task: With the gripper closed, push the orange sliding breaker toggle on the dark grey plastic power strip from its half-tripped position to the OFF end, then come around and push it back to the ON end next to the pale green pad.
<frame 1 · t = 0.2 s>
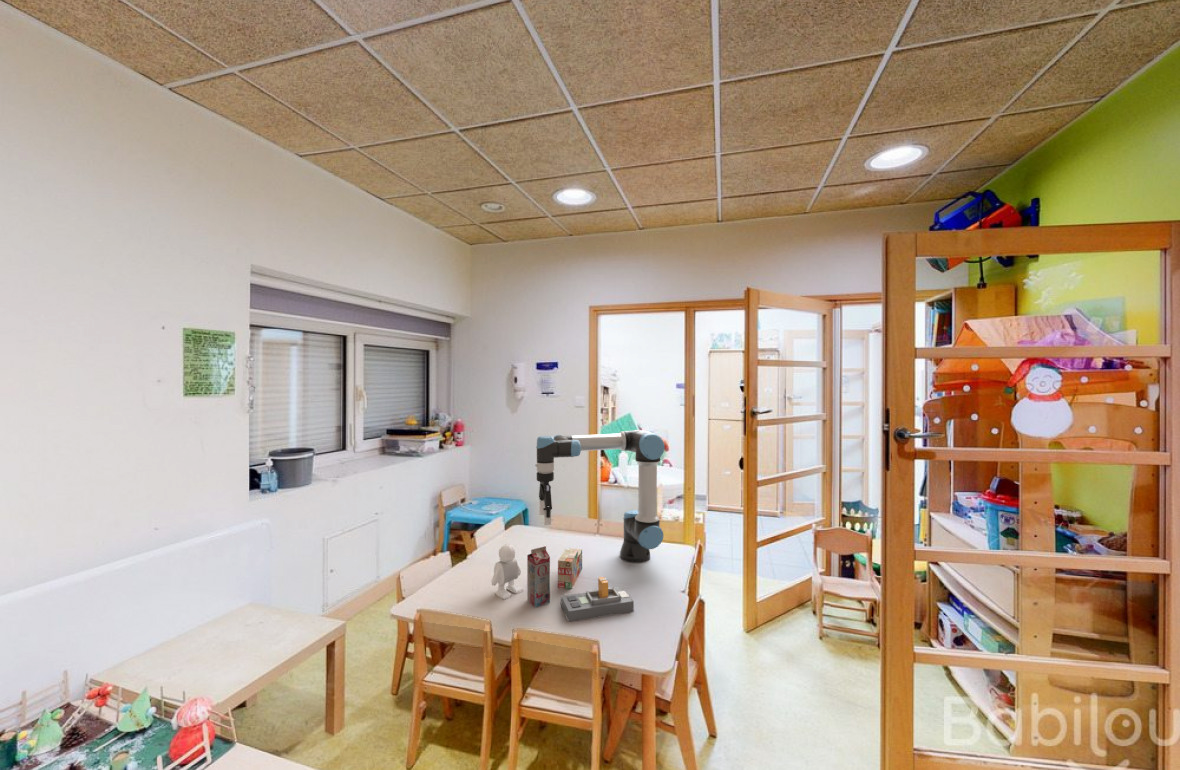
hand: (545, 519, 200), 28 cm above the table, fingers open, 13 cm apart
juice carton: (538, 602, 184), on the table
pdu strip: (597, 608, 179), on the table
stack of blocks: (570, 578, 206), on the table
breaker lever: (603, 588, 179), point 8 cm above the table, slide at 3.5 cm
toy robot: (507, 592, 192), on the table
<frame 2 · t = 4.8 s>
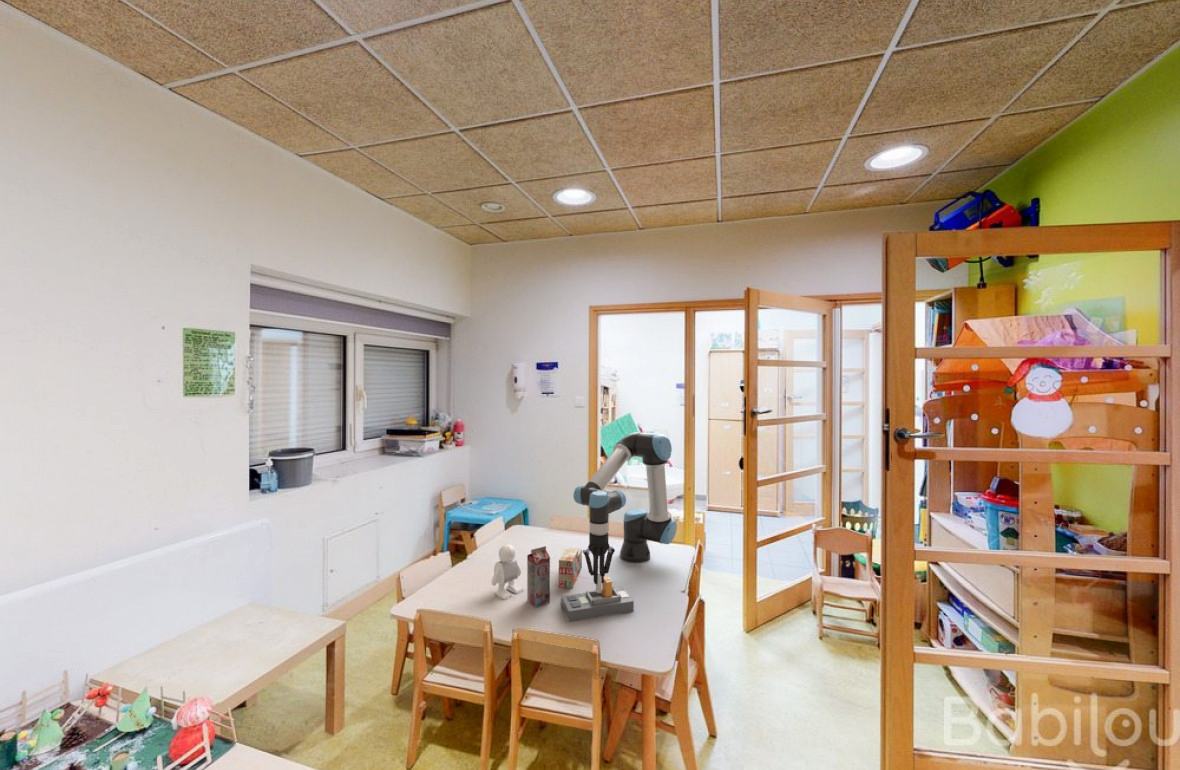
hand: (598, 591, 179), 7 cm above the table, fingers closed
breaker lever: (607, 587, 180), point 8 cm above the table, slide at 1.9 cm, touching gripper
everything else where it was.
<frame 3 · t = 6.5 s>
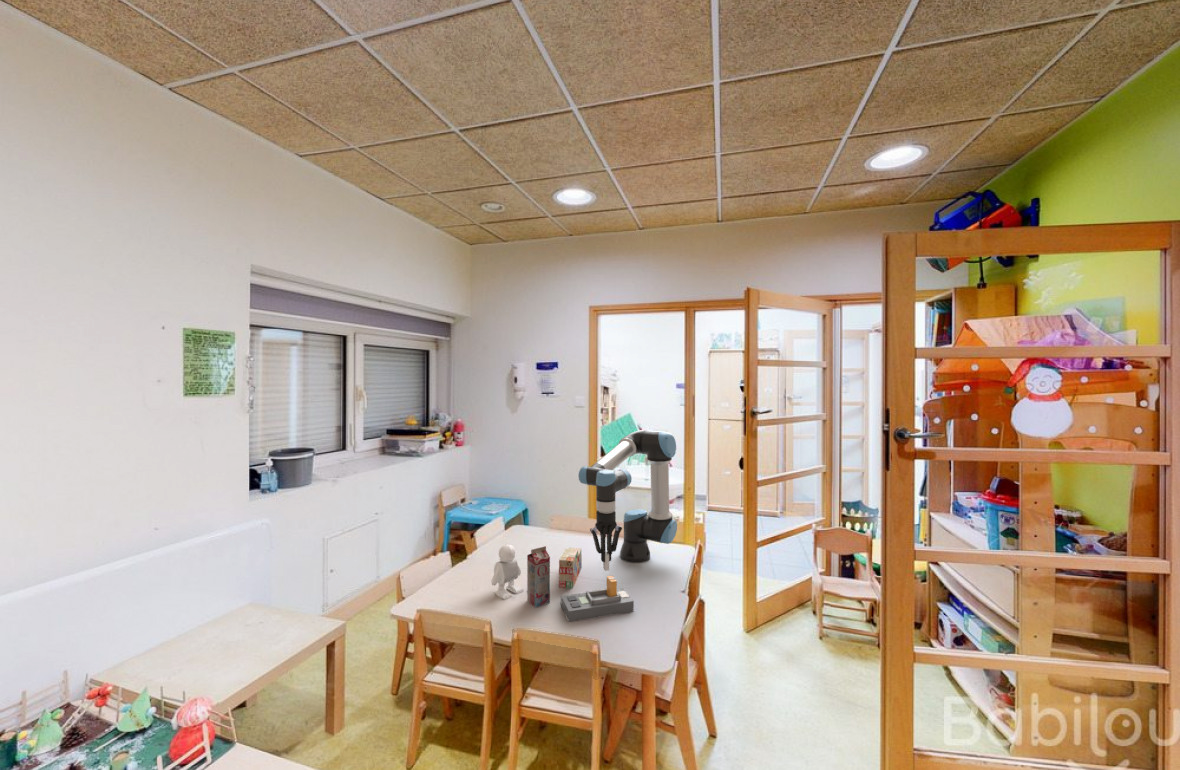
hand: (606, 569, 180), 15 cm above the table, fingers closed
breaker lever: (611, 587, 180), point 8 cm above the table, slide at 0.0 cm
everything else where it was.
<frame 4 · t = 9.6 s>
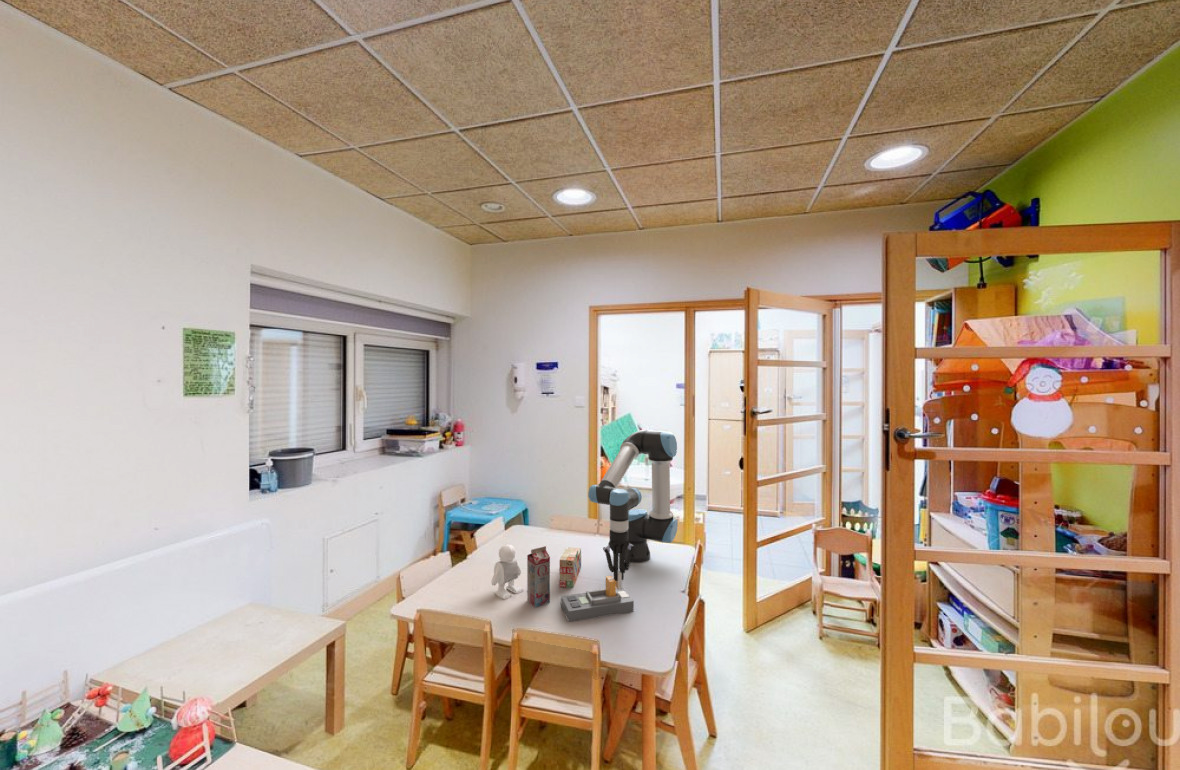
hand: (618, 587, 181), 7 cm above the table, fingers closed
breaker lever: (610, 587, 180), point 8 cm above the table, slide at 0.4 cm, touching gripper
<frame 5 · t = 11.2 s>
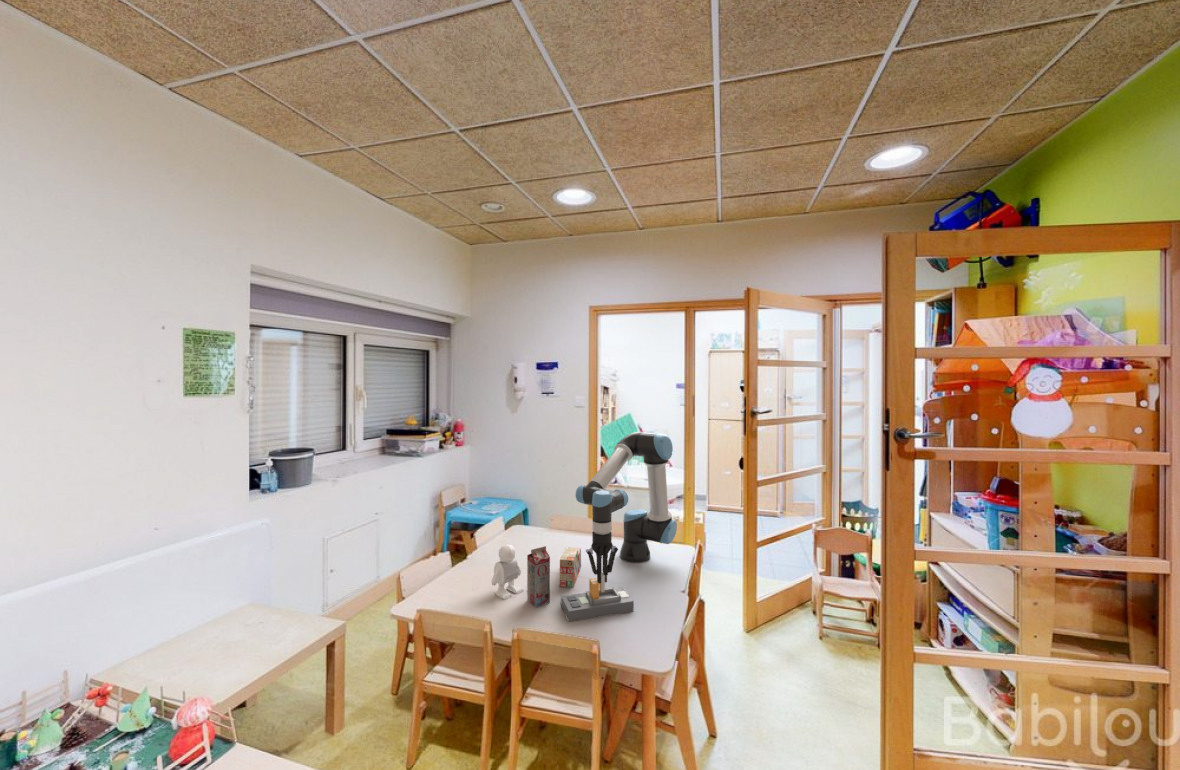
hand: (602, 590, 179), 7 cm above the table, fingers closed
breaker lever: (594, 589, 178), point 8 cm above the table, slide at 7.3 cm, touching gripper
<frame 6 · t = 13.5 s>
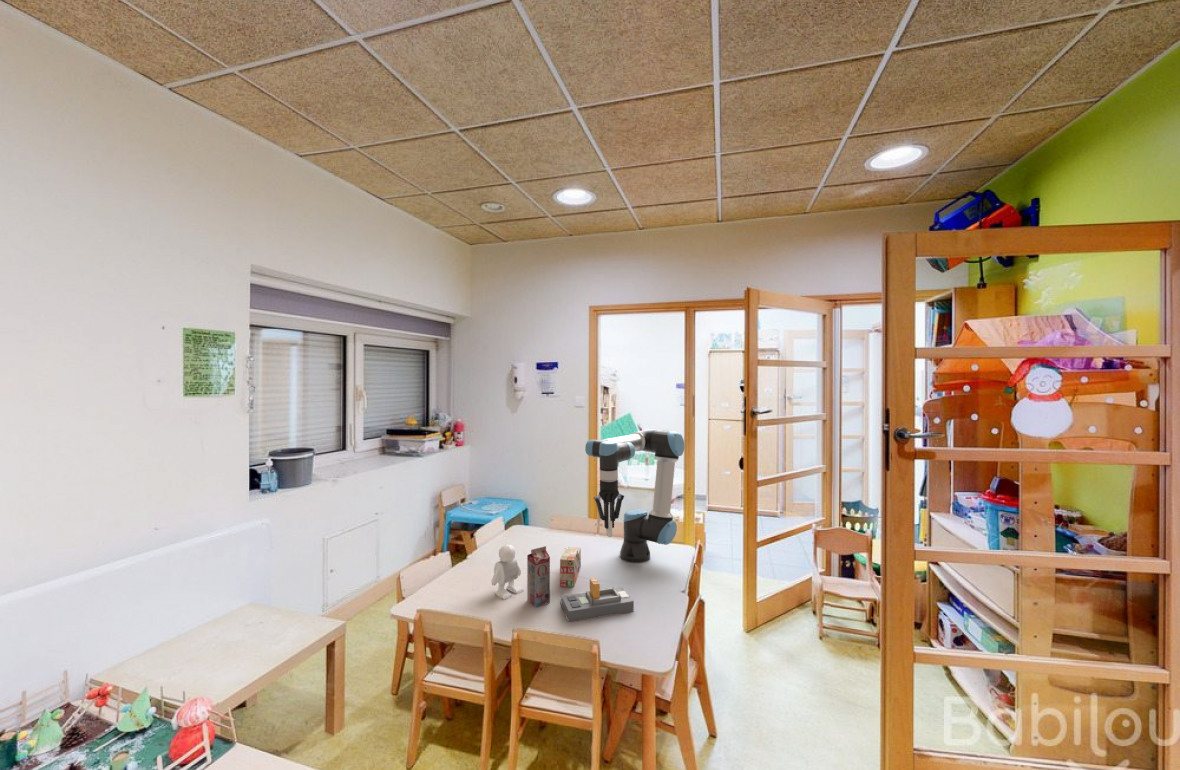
hand: (609, 535, 188), 25 cm above the table, fingers closed
breaker lever: (594, 589, 178), point 8 cm above the table, slide at 7.0 cm
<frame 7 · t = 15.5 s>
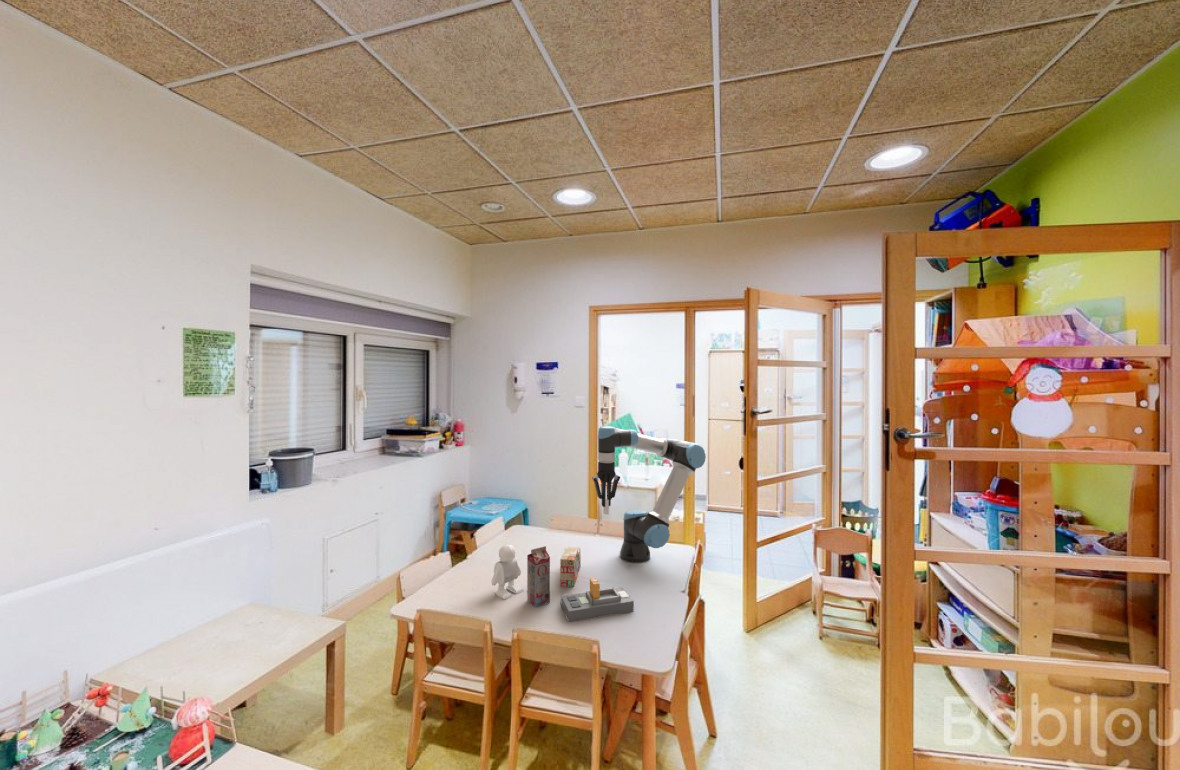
hand: (606, 513, 204), 29 cm above the table, fingers closed
at the end: breaker lever slide at 7.0 cm; juice carton moved 0.2 cm from its start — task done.
